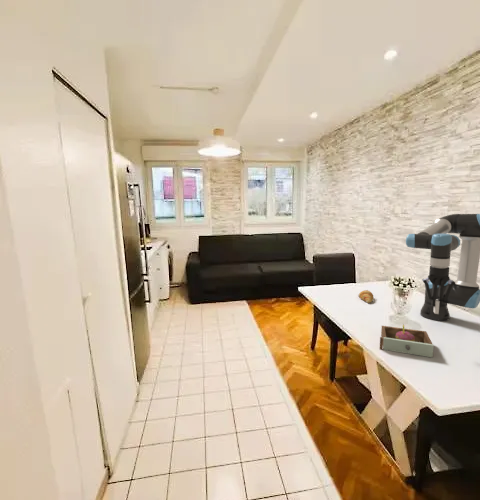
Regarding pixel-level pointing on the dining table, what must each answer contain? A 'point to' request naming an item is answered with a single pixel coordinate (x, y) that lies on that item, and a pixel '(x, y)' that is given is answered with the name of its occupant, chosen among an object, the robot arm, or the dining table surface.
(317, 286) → the dining table surface
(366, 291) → the croissant
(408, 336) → the cupcake
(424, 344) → the grey flat panel
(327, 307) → the dining table surface
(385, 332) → the holder
